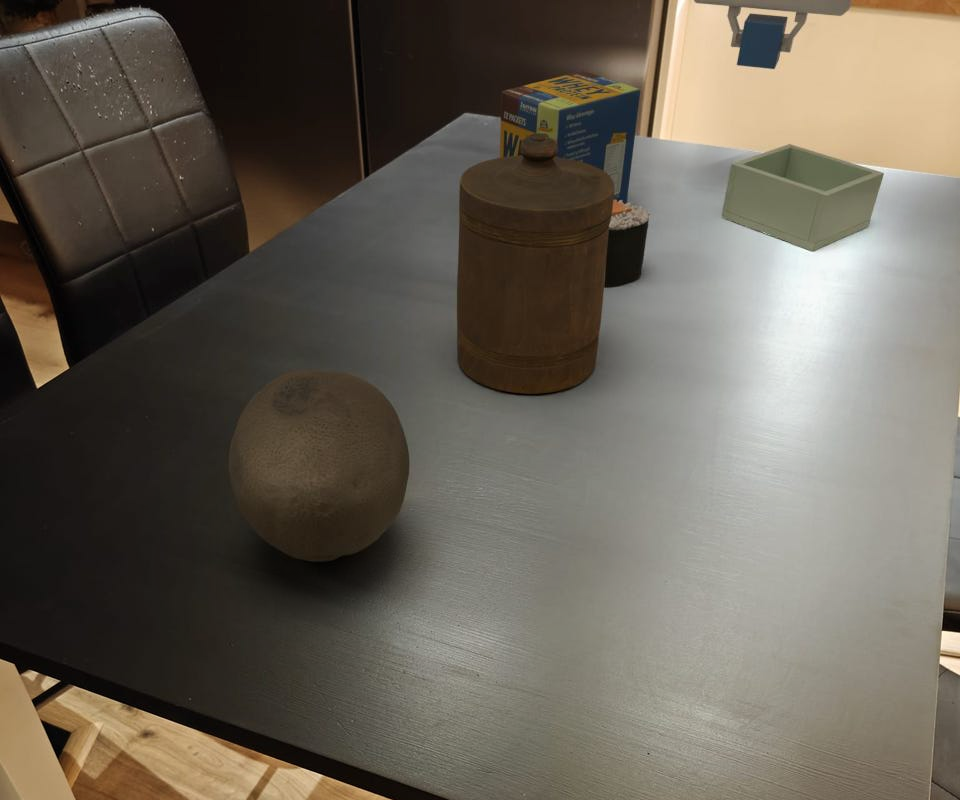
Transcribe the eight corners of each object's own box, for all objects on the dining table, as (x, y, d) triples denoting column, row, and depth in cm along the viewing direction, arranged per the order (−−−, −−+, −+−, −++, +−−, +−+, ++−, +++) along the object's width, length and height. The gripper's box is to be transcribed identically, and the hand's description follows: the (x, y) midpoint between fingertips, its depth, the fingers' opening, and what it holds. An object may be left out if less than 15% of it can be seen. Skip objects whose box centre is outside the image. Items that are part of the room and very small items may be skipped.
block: (778, 60, 126) (788, 16, 123) (774, 69, 123) (783, 24, 120) (741, 56, 128) (749, 13, 124) (736, 65, 124) (744, 21, 121)
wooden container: (620, 352, 101) (648, 130, 86) (549, 411, 92) (566, 175, 77) (506, 315, 107) (513, 101, 92) (429, 367, 98) (422, 140, 83)
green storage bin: (868, 227, 128) (884, 172, 123) (812, 251, 121) (827, 195, 116) (777, 196, 135) (789, 143, 131) (721, 217, 129) (731, 163, 124)
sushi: (605, 292, 112) (612, 224, 106) (560, 268, 117) (565, 201, 111) (654, 276, 115) (663, 209, 110) (608, 253, 120) (616, 188, 114)
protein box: (496, 217, 128) (499, 90, 117) (574, 191, 136) (584, 69, 125) (549, 240, 123) (558, 109, 112) (628, 212, 130) (643, 86, 119)
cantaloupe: (207, 562, 75) (165, 396, 65) (322, 478, 84) (301, 319, 73) (342, 631, 70) (321, 462, 59) (450, 534, 78) (449, 371, 68)
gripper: (874, -80, 114) (842, 51, 124) (708, -91, 119) (689, 36, 129) (872, -72, 110) (839, 62, 120) (699, -84, 115) (681, 46, 124)
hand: (760, 48), depth 124 cm, fingers closed on block, 5 cm apart
